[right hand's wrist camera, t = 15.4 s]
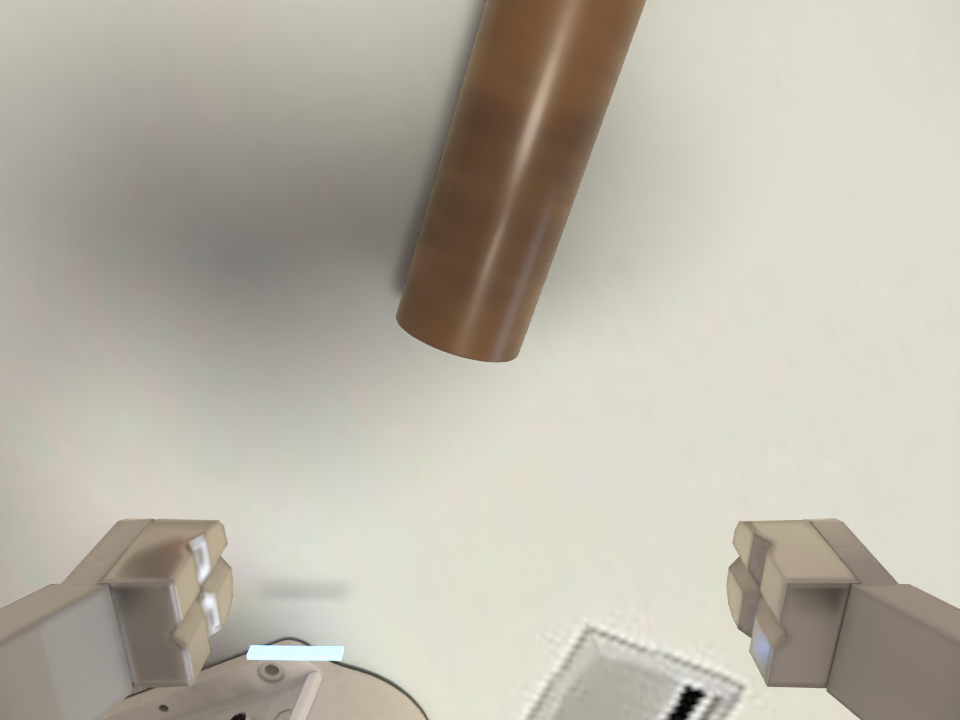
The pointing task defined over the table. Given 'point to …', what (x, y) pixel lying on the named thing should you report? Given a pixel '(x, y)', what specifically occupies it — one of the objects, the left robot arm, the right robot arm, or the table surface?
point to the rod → (512, 169)
